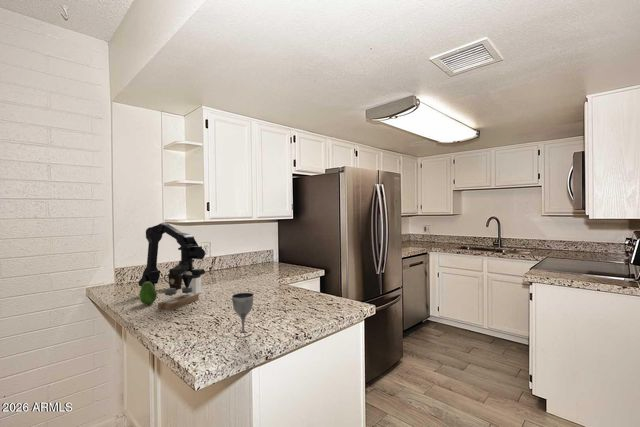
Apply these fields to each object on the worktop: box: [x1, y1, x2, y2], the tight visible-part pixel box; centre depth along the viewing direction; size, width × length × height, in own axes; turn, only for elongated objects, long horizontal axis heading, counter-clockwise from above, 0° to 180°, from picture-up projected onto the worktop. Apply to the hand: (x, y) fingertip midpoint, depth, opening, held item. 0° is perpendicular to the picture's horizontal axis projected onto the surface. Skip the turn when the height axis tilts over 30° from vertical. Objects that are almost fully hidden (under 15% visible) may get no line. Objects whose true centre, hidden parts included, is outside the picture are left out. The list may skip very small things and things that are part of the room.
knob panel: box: [157, 293, 199, 312], centre depth 159 cm, size 8×20×3 cm, turn 164°
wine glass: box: [231, 292, 254, 333], centre depth 118 cm, size 8×8×15 cm
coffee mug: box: [163, 272, 183, 291], centre depth 194 cm, size 12×9×10 cm
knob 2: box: [181, 286, 192, 294], centre depth 165 cm, size 5×5×3 cm
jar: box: [189, 275, 202, 295], centre depth 181 cm, size 9×8×12 cm
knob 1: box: [164, 287, 177, 297], centre depth 153 cm, size 5×5×3 cm
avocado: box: [139, 281, 158, 306], centre depth 159 cm, size 8×8×12 cm
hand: (187, 287), depth 165 cm, fingers closed, pressing on knob 2
